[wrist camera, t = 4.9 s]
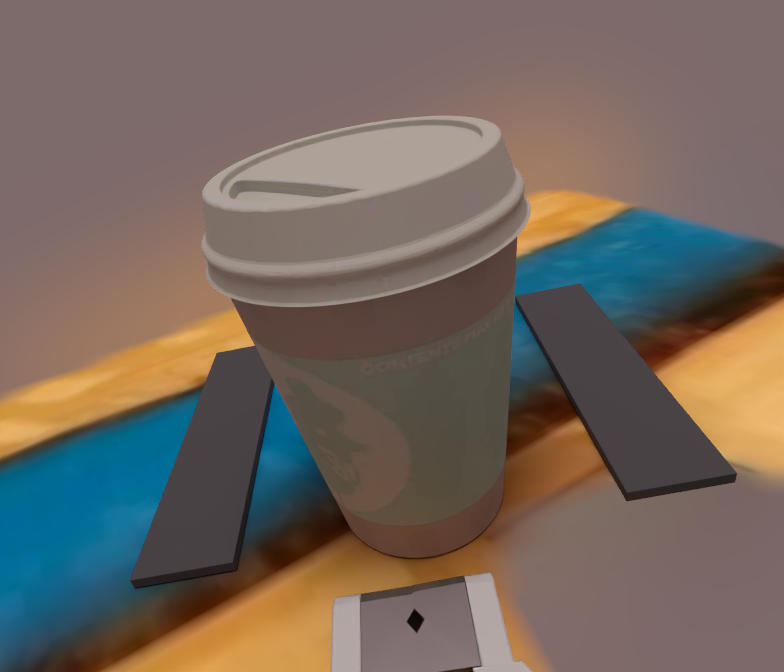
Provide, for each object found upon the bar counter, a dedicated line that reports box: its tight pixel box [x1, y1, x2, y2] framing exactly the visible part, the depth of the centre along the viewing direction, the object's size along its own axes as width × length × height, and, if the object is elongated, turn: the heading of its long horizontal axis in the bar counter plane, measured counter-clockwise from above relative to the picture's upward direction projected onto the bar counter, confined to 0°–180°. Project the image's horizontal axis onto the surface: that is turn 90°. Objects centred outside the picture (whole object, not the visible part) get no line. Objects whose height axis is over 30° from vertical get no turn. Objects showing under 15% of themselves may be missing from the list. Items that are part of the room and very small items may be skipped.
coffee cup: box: [201, 116, 530, 558], centre depth 17 cm, size 8×8×12 cm
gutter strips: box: [130, 284, 737, 588], centre depth 24 cm, size 14×20×1 cm
